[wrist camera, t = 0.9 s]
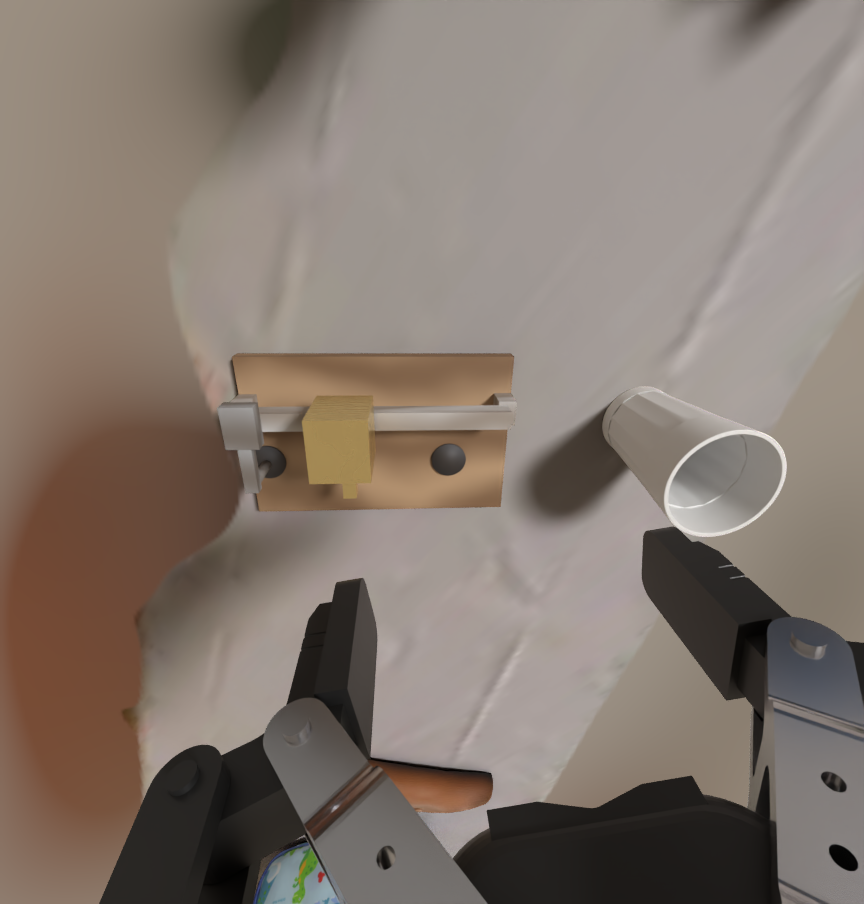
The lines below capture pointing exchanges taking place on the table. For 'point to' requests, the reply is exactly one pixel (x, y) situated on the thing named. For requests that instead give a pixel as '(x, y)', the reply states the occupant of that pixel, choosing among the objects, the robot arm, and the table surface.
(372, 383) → the board
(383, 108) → the table surface
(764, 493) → the cup
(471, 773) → the sunglasses case
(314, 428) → the sliding block
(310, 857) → the lunch box
